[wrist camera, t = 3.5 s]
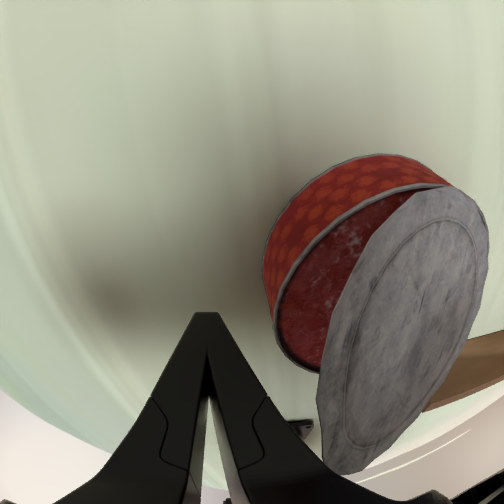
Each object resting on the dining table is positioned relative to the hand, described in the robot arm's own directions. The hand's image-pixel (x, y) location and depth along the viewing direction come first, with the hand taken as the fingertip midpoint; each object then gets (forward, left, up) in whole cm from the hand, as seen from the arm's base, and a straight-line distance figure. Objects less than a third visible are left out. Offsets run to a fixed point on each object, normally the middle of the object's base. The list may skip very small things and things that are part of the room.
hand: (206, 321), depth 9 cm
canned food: (0, -7, -4) cm, 8 cm away
